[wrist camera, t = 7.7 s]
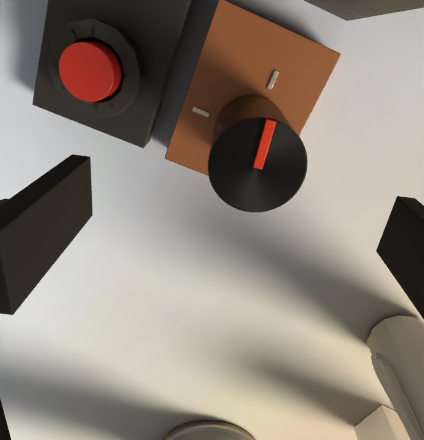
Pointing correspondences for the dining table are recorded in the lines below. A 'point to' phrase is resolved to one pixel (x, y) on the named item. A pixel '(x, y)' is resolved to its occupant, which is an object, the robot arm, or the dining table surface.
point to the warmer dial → (255, 155)
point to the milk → (381, 426)
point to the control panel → (247, 78)
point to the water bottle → (401, 368)
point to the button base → (125, 53)
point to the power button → (89, 71)
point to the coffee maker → (365, 7)
